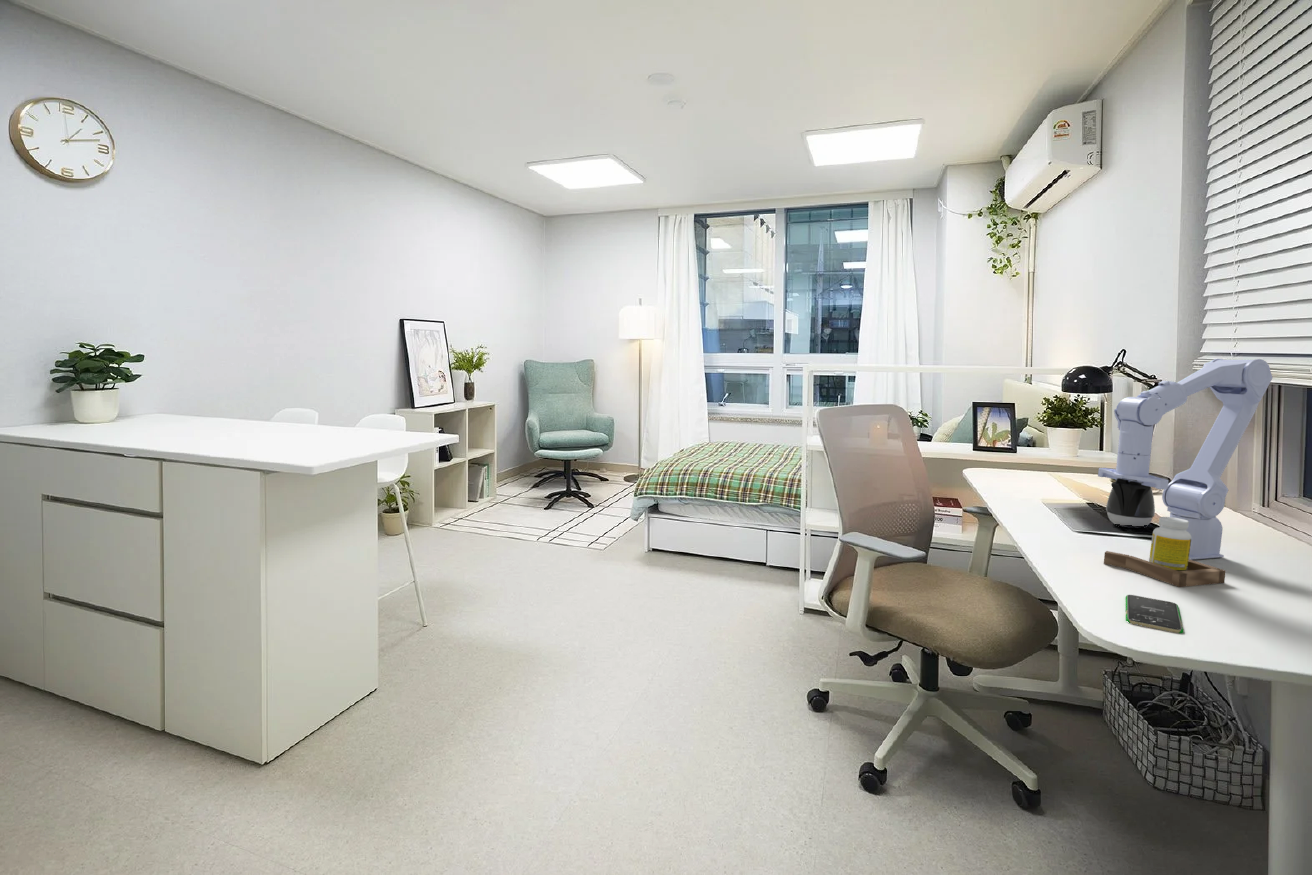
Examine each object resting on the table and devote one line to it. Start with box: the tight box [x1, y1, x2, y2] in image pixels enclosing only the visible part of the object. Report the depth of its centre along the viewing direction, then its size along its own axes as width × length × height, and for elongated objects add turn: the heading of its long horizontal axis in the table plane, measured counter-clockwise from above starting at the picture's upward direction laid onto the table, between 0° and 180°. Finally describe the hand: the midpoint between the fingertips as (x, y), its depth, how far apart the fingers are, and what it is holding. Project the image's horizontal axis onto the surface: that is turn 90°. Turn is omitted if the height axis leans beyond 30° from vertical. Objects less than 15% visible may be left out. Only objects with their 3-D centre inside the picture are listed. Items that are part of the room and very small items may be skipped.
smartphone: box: [1125, 594, 1184, 634], centre depth 113 cm, size 8×1×15 cm
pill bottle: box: [1148, 516, 1191, 571], centre depth 134 cm, size 6×6×11 cm
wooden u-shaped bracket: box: [1103, 550, 1227, 588], centre depth 135 cm, size 15×15×2 cm
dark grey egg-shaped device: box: [1105, 479, 1156, 526], centre depth 169 cm, size 10×10×15 cm
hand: (1127, 515), depth 143 cm, fingers closed
